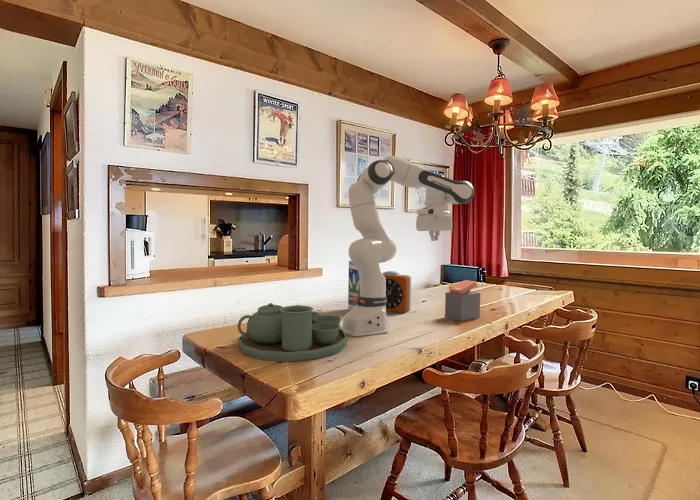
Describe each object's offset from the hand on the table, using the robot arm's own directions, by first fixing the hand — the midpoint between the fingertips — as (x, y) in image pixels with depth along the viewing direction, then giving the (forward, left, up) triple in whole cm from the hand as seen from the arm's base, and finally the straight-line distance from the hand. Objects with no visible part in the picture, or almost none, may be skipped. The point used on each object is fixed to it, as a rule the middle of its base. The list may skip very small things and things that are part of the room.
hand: (434, 240), depth 191 cm
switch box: (+14, -5, -37) cm, 40 cm away
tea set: (-72, 0, -38) cm, 82 cm away
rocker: (+15, -5, -25) cm, 29 cm away
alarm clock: (-4, +26, -37) cm, 46 cm away
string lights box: (-18, +33, -37) cm, 53 cm away
